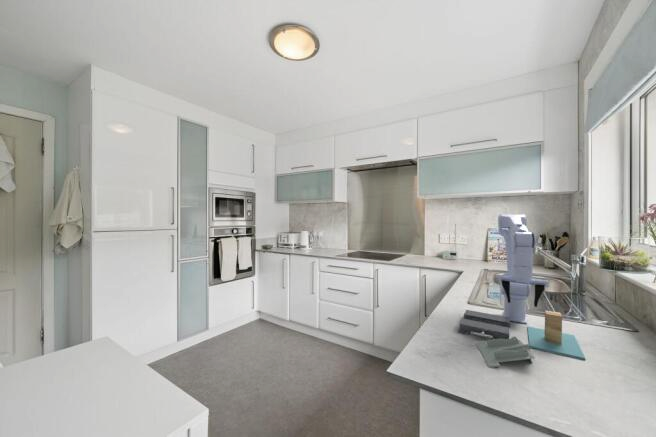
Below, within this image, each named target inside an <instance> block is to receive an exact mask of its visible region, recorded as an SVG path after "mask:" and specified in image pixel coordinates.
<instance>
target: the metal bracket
mask: <svg viewBox="0 0 656 437" xmlns="http://www.w3.org/2000/svg"><path fill="white" fill-rule="evenodd" d="M475 346H476V348H478V349H479V351H480V354H481V356H482V357H483V359H484V363H485V365H486V366H487V368H497V367H498V368H499V367H501V364H500V363H506V362H513V361H522V360H529V362H530V363H531V364H533V359H535V358H536V356H535V355H534V354H533V353H532V352H531V348H530V345H529V343H527V344H524V343H523V342H522V341H521V339H518V338H517V337H516V336H512V337H509V339H487V340H479V341H475Z"/></svg>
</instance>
